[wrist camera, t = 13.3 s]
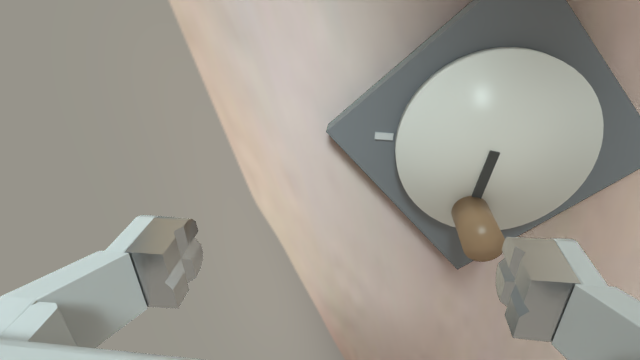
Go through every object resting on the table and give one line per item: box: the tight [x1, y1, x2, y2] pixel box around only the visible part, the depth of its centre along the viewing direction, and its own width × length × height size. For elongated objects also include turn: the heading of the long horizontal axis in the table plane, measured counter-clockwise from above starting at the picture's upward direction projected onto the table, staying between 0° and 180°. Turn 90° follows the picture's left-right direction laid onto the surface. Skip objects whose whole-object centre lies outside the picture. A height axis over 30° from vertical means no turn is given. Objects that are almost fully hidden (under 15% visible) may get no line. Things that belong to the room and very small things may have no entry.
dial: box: [395, 47, 604, 262], centre depth 31 cm, size 16×16×6 cm
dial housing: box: [326, 0, 640, 270], centre depth 35 cm, size 20×20×2 cm
